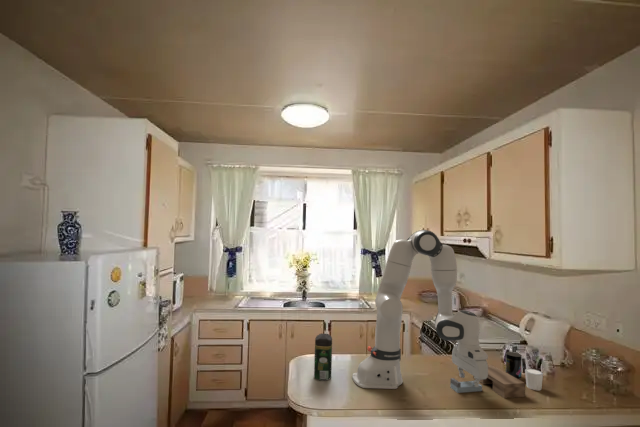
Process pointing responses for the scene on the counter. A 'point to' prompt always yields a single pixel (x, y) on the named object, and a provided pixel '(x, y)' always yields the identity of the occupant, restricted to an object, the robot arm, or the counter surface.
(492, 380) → the wooden bridge block
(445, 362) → the counter surface
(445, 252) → the robot arm
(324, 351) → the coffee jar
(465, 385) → the blue-grey l-shaped block
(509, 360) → the supplement container
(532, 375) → the white cylinder
